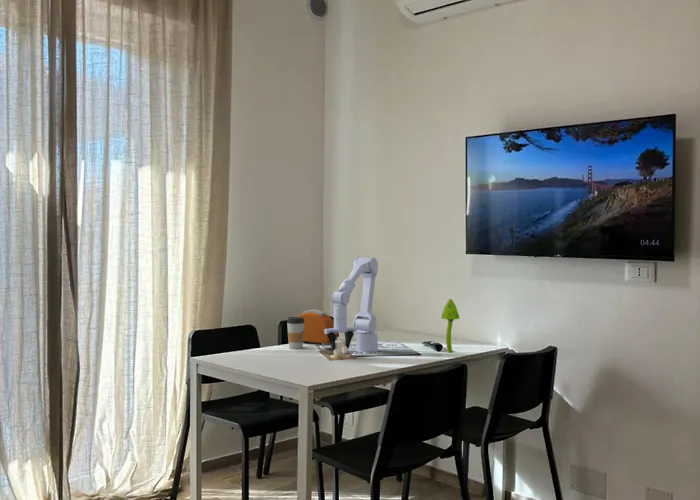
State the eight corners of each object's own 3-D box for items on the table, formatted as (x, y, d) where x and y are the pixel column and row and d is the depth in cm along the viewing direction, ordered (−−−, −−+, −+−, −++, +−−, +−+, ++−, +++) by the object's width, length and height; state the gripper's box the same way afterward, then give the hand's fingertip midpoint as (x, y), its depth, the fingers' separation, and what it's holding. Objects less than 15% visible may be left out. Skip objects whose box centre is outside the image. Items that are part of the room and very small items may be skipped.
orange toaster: (338, 343, 347) (338, 310, 347) (328, 346, 340) (328, 312, 339) (299, 339, 359) (299, 307, 359) (289, 342, 352) (289, 309, 351)
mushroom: (462, 352, 325) (463, 298, 324) (452, 354, 319) (453, 300, 318) (447, 349, 330) (448, 297, 330) (437, 352, 324) (437, 298, 323)
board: (344, 350, 328) (344, 349, 328) (358, 360, 305) (358, 359, 305) (317, 352, 324) (317, 350, 324) (329, 361, 301) (329, 360, 301)
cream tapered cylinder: (331, 355, 312) (331, 341, 312) (341, 354, 314) (341, 340, 314) (340, 358, 304) (340, 344, 304) (350, 357, 306) (350, 343, 306)
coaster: (347, 354, 315) (347, 353, 315) (352, 358, 307) (352, 357, 307) (328, 355, 313) (328, 354, 313) (332, 359, 304) (332, 358, 304)
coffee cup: (301, 351, 327) (301, 319, 326) (284, 350, 329) (284, 318, 328) (306, 347, 335) (306, 316, 335) (289, 347, 337) (289, 316, 336)
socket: (341, 350, 324) (341, 347, 324) (346, 353, 316) (346, 350, 316) (323, 351, 322) (323, 348, 322) (328, 354, 314) (328, 351, 314)
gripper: (351, 316, 316) (350, 346, 316) (321, 318, 309) (321, 348, 310) (358, 318, 310) (357, 348, 310) (328, 320, 303) (328, 351, 304)
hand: (340, 348), depth 310 cm, fingers open, 6 cm apart
